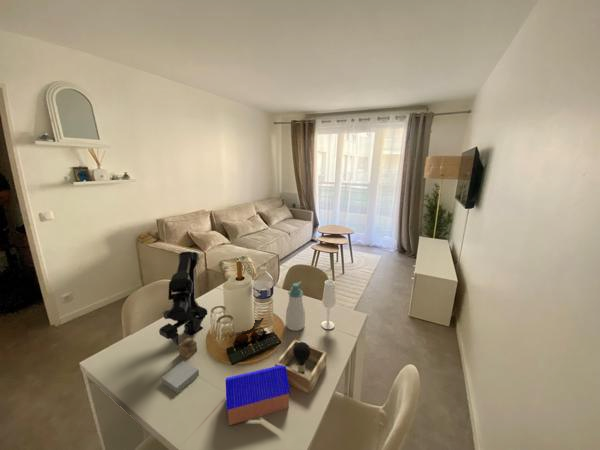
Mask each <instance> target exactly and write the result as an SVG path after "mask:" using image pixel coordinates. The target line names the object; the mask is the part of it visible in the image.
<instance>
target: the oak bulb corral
mask: <svg viewBox="0 0 600 450" xmlns="http://www.w3.org/2000/svg"><path fill="white" fill-rule="evenodd" d="M299 342H301V341H300V340H297V339H294V340H293V341H292V342H291V343H290V344H289V346H288V347H287V348H286V349H285V351H284V352H283V353H282V354H281V356H280V357H279V358H277V360H276V362H275V363H274V367H275V366H279V365H283V366H286V372H287V378H288V384H289V385H291V386H294V387H295V388H297V389H299V390H301V391H303V392H305V393H307V394H309V395H311V393H312V391H313V389H314V388H315V385H316V384H317V382H318V380H319V378H320V377H321V375H322V373H323V371H324V369H325V367H326V366H327V357H328V355H327V353H328V352H326V351H324V350H323V349H319V348H317V347H315V346H311V345H309V344H307V345H308V346H309V348H310V356H309V358H308V359H307V360H309V361H312V362H314V363H316V365H315V366H314V368H313V370H312V371H311V373H310V375H309V376H307V375H306V374H303V372H299V371H297V370H296V369H293V368H292V367H288V366H287V365H288V364H289V363H290V361H291V360H292V359H293V357H294V354H293V350H294V346H295V345H296V344H297V343H299Z"/></svg>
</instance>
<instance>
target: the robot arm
mask: <svg viewBox="0 0 600 450" xmlns="http://www.w3.org/2000/svg"><path fill="white" fill-rule="evenodd" d="M199 261H200V255H199V253H198V252H196V251H182V252H180V253H179V254H178V262H179V263H178V266H177V270H176V273H174V274H173V275H172V277H171V279H170V280H169V282H168V301H170V300H171V301H172V305H171V307H170V309H167V310H165V311H163V318H164V319H165V320H172V321H174V322H175V323H174V324H171V323H167V324H164V325H163V326H162V327H160V328H159V331H158V332H159V335H160V336H161V337H163V338H165V339H167V340H170V339H171V340H172V342H173V343H174V345H175V346H177V347H179V346H178V345H179V344H180V343H179V342H180V340H179V338H180V337H179V334H180V333H178V329H179V328H181V327H182V326H183V327H184V330H183V332H184V333H185V334H187V335H190V336H192V337H193V336H194V335H196V334H197V333H198V332H200V331H202V330H203V329H204V328H203V326H202V322H203V320H204V319H205V318H206V316H207V315H208V309H207V308H206V307H203V306H200V305H199V304H200V303H198V302H197V300H196V282H195V281H196V278H195V277H196V275H195V273H196V271H195V270H196V269H197V267H198V265H199Z"/></svg>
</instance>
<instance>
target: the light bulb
mask: <svg viewBox="0 0 600 450" xmlns="http://www.w3.org/2000/svg"><path fill="white" fill-rule="evenodd" d="M308 345H309V344H307V343H306V342H304V341H300V342H299V343H297V344H296V345H295V346H294V350H293V354H294V356H293V357H294V358H295V360H296V362H297V370H298V371H297V372H299V373H303V372H304V371H305V370H306V362H307V360H309V359H308V358H309V356H310V348H309V346H308Z"/></svg>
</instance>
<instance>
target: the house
mask: <svg viewBox="0 0 600 450" xmlns="http://www.w3.org/2000/svg"><path fill="white" fill-rule="evenodd" d="M286 366H287V365H286ZM286 366H283V365H279V366H275V365H274V366H272V367H268V368H263V369H259V370H254V371H250V372H246V373H245V372H244V373H242V374H238V375H233V376H228V377H226V378H225V401H226V402H225V403H226V405H225V406H226V411H227V414H228V415H227V417H228V426H232V425H236V424H239V423H244V422H246V421H250V420H253V419H256V418H260V417H261V416H265V415H268V414H271V413H276V412H278V411H282V410H285V409H289V408H290V402H289V401H290V399H289V398H290V397H289V396H290V393H291V391H290V384H289V383H288V378H287V372H286Z"/></svg>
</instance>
